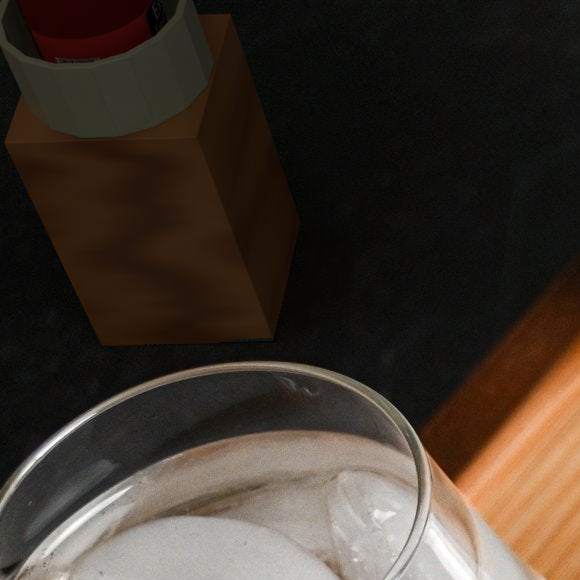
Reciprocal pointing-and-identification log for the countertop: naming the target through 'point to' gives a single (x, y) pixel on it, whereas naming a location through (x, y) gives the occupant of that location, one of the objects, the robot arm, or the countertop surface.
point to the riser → (170, 213)
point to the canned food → (89, 27)
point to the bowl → (112, 77)
